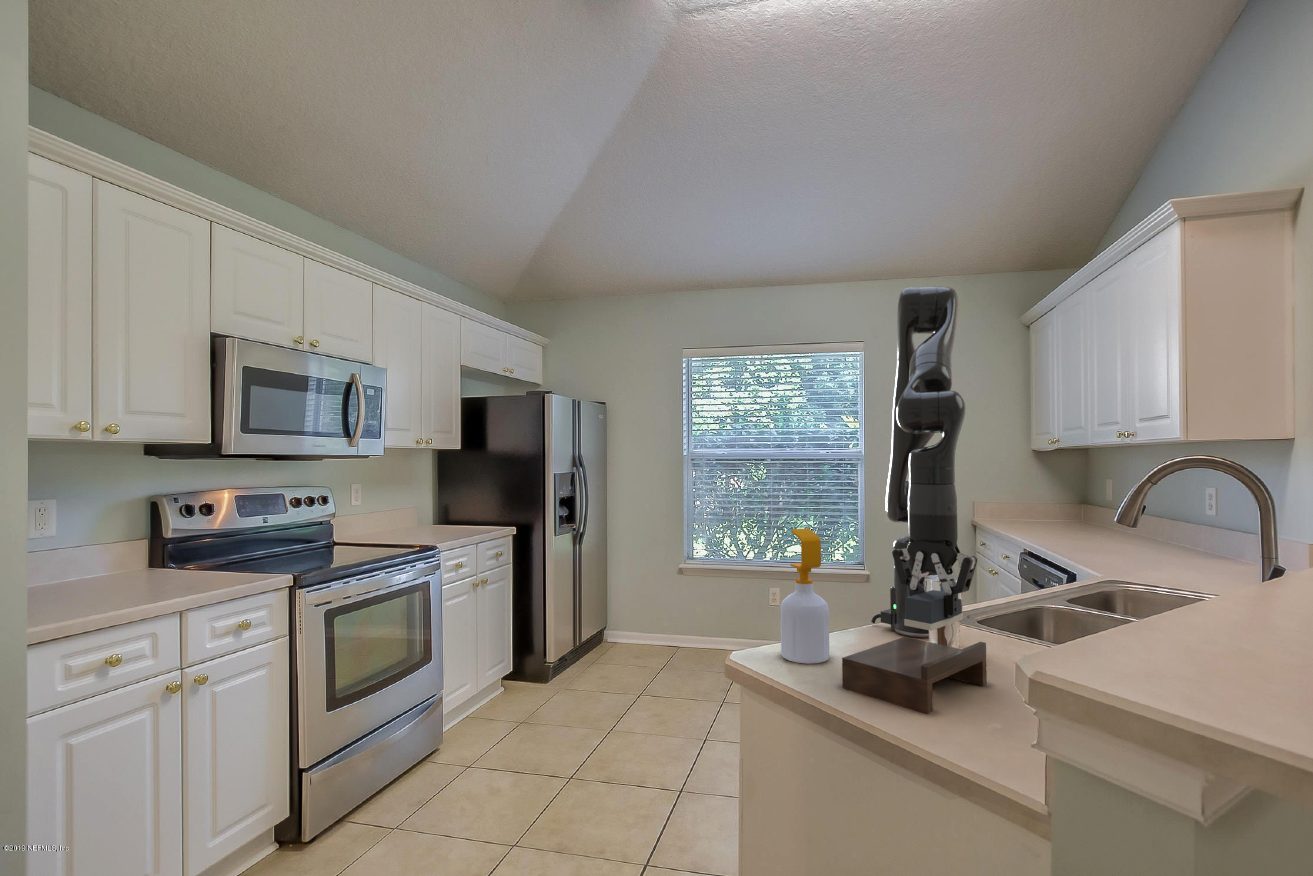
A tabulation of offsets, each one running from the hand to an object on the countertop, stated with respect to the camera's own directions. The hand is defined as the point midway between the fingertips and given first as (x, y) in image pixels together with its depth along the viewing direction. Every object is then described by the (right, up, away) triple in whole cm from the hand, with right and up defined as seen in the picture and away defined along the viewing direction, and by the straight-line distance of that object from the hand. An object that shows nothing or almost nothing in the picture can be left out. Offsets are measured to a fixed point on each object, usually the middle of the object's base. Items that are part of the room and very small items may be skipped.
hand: (934, 614), depth 109 cm
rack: (-2, -13, +2) cm, 13 cm away
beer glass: (+10, -13, +19) cm, 25 cm away
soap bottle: (-17, -13, +18) cm, 29 cm away
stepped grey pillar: (0, -1, 0) cm, 1 cm away
